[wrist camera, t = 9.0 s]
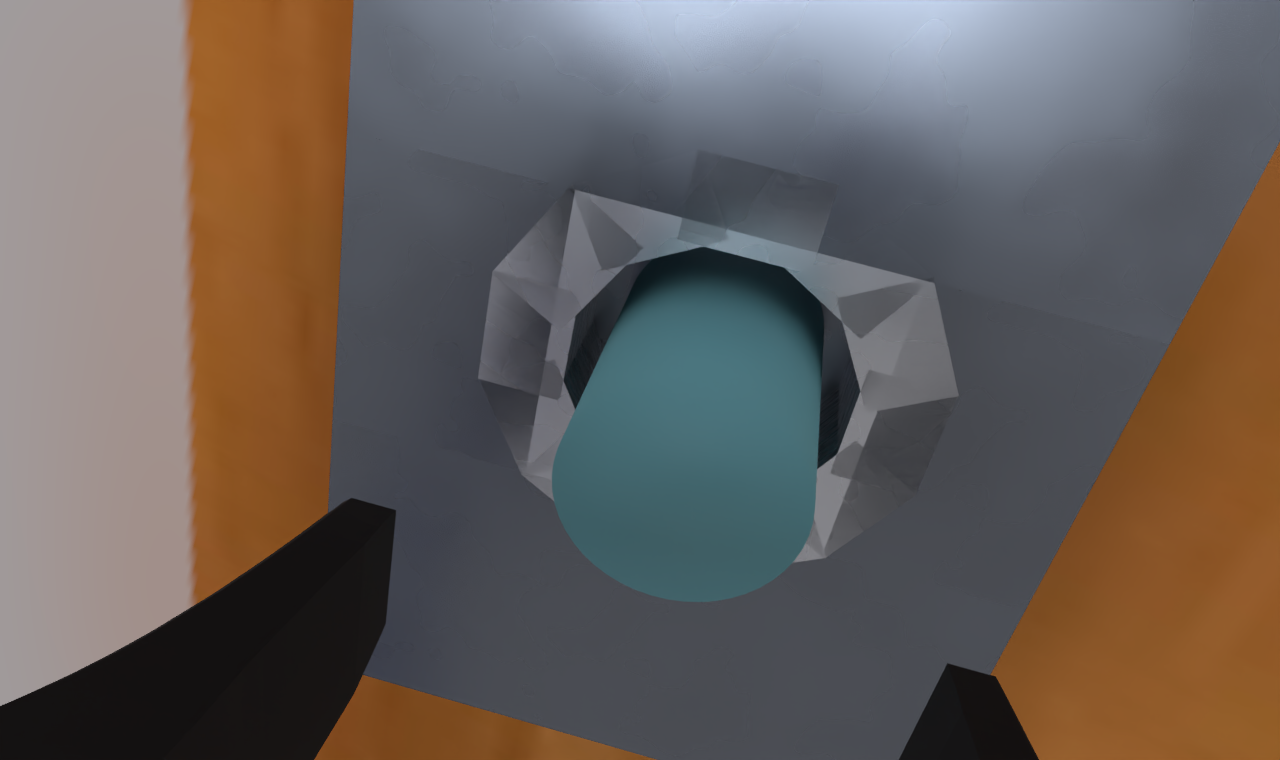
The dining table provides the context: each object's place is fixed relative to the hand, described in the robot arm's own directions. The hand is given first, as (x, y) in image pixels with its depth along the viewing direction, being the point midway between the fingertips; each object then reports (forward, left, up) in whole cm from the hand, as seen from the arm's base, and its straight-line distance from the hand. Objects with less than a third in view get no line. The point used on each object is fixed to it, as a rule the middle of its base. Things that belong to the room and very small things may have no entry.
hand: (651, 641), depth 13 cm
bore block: (0, 0, -9) cm, 9 cm away
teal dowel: (0, 0, -9) cm, 9 cm away
